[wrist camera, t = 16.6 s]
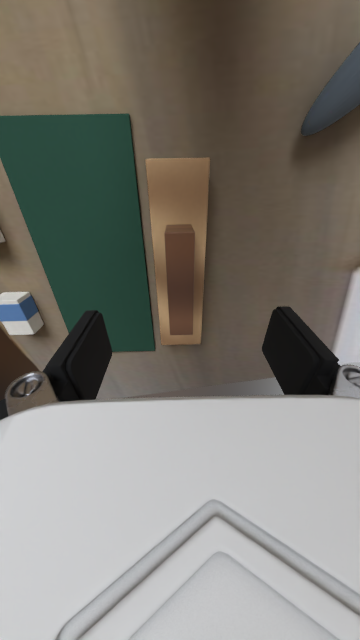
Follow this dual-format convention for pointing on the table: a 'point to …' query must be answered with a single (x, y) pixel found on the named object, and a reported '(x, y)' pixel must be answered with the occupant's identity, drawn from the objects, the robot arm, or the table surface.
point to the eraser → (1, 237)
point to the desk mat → (84, 216)
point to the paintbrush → (336, 96)
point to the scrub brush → (179, 243)
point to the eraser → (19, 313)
